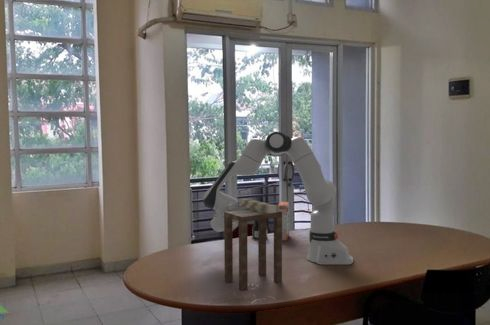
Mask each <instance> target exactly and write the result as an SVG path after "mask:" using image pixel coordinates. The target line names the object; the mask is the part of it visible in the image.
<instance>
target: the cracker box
mask: <svg viewBox="0 0 490 325" xmlns="http://www.w3.org/2000/svg"><path fill="white" fill-rule="evenodd" d="M290 204H291V203H290V201H280V202H279V203H278V205H277V211H280V212H282V242H283V241H284V242H286V241H288V238H289V236H290V208H291V207H290Z"/></svg>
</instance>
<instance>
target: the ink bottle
mask: <svg viewBox="0 0 490 325" xmlns="http://www.w3.org/2000/svg"><path fill="white" fill-rule="evenodd" d="M253 224H254V225H253V226H251V227H252V229H251V231H252V232H251V234H252V236H251V238H252V239H255V240H258V220H254V221H253ZM267 238H268V226H267V225H266V239H267Z"/></svg>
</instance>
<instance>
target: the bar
mask: <svg viewBox="0 0 490 325" xmlns="http://www.w3.org/2000/svg"><path fill="white" fill-rule="evenodd" d="M240 204H241V206H243V207H247V208H251V209H255V210H258V211H262V212H266V213H276V211H277V204H272V203H268V202H264V201H259V200H256V199H251V198H241V199H240Z"/></svg>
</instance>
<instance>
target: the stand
mask: <svg viewBox="0 0 490 325" xmlns="http://www.w3.org/2000/svg"><path fill="white" fill-rule="evenodd" d="M232 219H234V220H237V221H239V222H238V290H239V291H242V292H243V291H248V286H249V285H248V278H249V277H248V271H249V270H248V267H249V266H248V222H251V221H253V222H254V220H258V239H257V244H258V246H257V248H258V251H257V252H258V254H257V256H258V258H257V259H258V263H257V264H258V265H257V266H258V267H257V268H258V269H257V270H258V275H260V276H266V275H267V238H266V226H267V220H268V219H273V282H274V283H277V284H278V283H282V282H283V241H282V212H280V211H278V210H276V213H266V212H262V211H258V210H255V209H251V208H247V209H243V210H235V211H227V212H224V231H223V234H224V236H223V237H224V243H223V244H224V246H223V249H224V252H223V253H224V282H225V283H227V284H228V283H233V281H234V275H233V274H234V272H233V270H234V267H233V265H234V264H233V262H234V261H233V260H234V259H233V258H234V256H233V247H234V246H233V225H232Z"/></svg>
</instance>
